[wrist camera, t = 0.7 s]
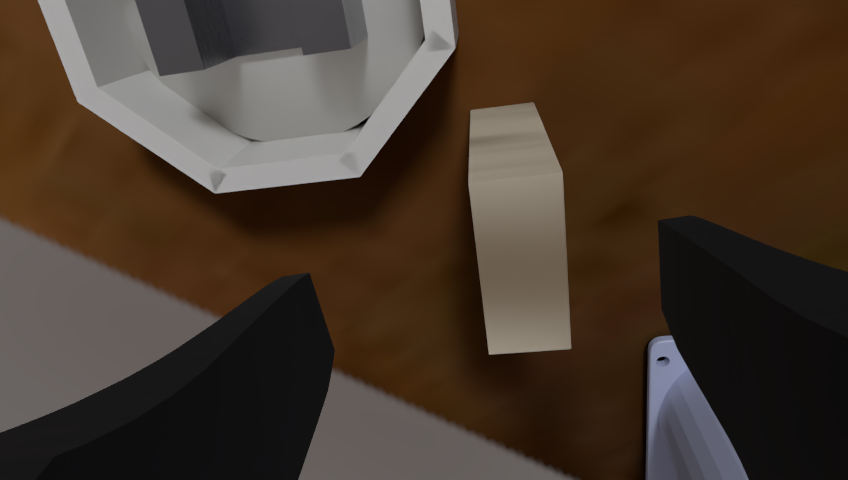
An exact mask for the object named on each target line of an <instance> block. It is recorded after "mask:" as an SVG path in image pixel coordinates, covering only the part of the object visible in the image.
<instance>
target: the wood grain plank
mask: <svg viewBox="0 0 848 480" xmlns="http://www.w3.org/2000/svg"><path fill="white" fill-rule="evenodd" d="M468 185H469V193H470V201H471V210H472V218H473V226H474V235H475V243H476V251H477V259H478V268H479V276H480V284H481V293H482V301H483V309H484V318H485V326H486V334H487V342H488V351H489V355H492V354H506V353H520V352H534V351H548V350H562V349H571V334H570V314H569V293H568V273H567V253H566V232H565V212H564V191H563V172H562V170H561V167H560V165H559V162H558V160H557V158H556V155H555V153H554V150H553V148H552V145H551V143H550V141H549V138H548V136H547V133H546V131H545V129H544V126H543V124H542V121H541V119H540V116H539V114H538V112H537V109H536V107H535V104H534V102H532V103H524V104H516V105H508V106H501V107H493V108H485V109H477V110H471V112H470V143H469V175H468Z"/></svg>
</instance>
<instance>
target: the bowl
mask: <svg viewBox="0 0 848 480" xmlns="http://www.w3.org/2000/svg"><path fill="white" fill-rule="evenodd" d="M38 2H39V4H40V7H41V10H42V12H43V15H44V17H45V20H46V22H47V25H48V27H49V30H50V33H51V35H52V38H53V40H54V43H55V45H56V48H57V50H58V53H59V55H60V58H61V61H62V63H63V66H64V68H65V71H66V73H67V76H68V78H69V81H70V84H71V86H72V89H73V91H74V94H75V96H76V99H77V101H78V102H79V103H80V104H82V105H83V106H85V107H86V108H88V109H89V110H91V111H92V112H94V113H95V114H97V115H98V116H99V117H101V118H102V119H104V120H105V121H107V122H108V123H110V124H111V125H113V126H114V127H116V128H117V129H119V130H120V131H122V132H123V133H125V134H126V135H128V136H129V137H131V138H132V139H134V140H135V141H137V142H138V143H140V144H141V145H143V146H144V147H146V148H147V149H149V150H150V151H152V152H153V153H155V154H156V155H158V156H159V157H161V158H162V159H164V160H165V161H167V162H168V163H170V164H171V165H173V166H174V167H176V168H177V169H179V170H180V171H182V172H183V173H185V174H186V175H188V176H189V177H191V178H192V179H194V180H195V181H197V182H198V183H200V184H201V185H203V186H204V187H206V188H207V189H209V190H210V191H212V192H213V193H215V194H216V193H225V192H234V191H243V190H251V189H260V188H269V187H277V186H286V185H295V184H304V183H312V182H321V181H330V180H339V179H347V178H356V177H360V176H361V175H362V174H363V172H364V171H365V170H366V168H367V167H368V166H369V164H370V163H371V162H372V160H373V159H374V158H375V156H376V155H377V154H378V152H379V151H380V150H381V148H382V147H383V145H384V144H385V143H386V141H387V140H388V139H389V137H390V136H391V135H392V133H393V132H394V131H395V129H396V128H397V127H398V125H399V124H400V123H401V121H402V120H403V118H404V117H405V116H406V114H407V113H408V112H409V110H410V109H411V108H412V106H413V105H414V104H415V102H416V101H417V100H418V98H419V97H420V96H421V94H422V93H423V92H424V90H425V89H426V87H427V86H428V85H429V83H430V82H431V81H432V79H433V78H434V77H435V75H436V74H437V73H438V71H439V70H440V69H441V67H442V66H443V65H444V63H445V62H446V61H447V59H448V58H449V56H450V55H451V54H452V52H453V51H454V50H455V48H456V44H457V40H458V35H459V31H458V22H457V13H456V4H455V0H362V5H363V10H364V16H365V22H366V27H367V33H368V37H367V38H365V39H364V40H363V41H361V42H360V43H358V44H357V45H355V46H354V47H353V48H351V49H345V50H338V51H331V52H324V53H317V54H310V55H304V56H303V52H302V48H301V47H300V48H293V49H287V50H280V51H273V52H266V53H259V54H253V55H246V56H239V57H235V58H233V59H230V60H228V61H225V62H223V63H220V64H218V65H215V66H213V67H210V68H208V69H205V70H200V71H193V72H186V73H179V74H173V75H166V76H159V73H158V70H157V66H156V63H155V60H154V57H153V54H152V51H151V48H150V45H149V42H148V39H147V36H146V33H145V30H144V27H143V24H142V21H141V18H140V15H139V11H138V8H137V5H136V2H135V0H38ZM424 36H425V40H424V42H423V39H424ZM422 42H423V43H422ZM369 116H370V117H369ZM368 117H369V119H368V120H367V122H366V123H365V124H361V125H358V124H359V123H360V122H362V121H363V120H365V119H366V118H368Z"/></svg>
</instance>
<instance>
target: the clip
mask: <svg viewBox="0 0 848 480" xmlns="http://www.w3.org/2000/svg"><path fill="white" fill-rule="evenodd" d="M135 2H136V5H137V8H138V11H139V15H140V18H141V21H142V24H143V27H144V30H145V33H146V36H147V39H148V42H149V45H150V48H151V51H152V54H153V57H154V60H155V63H156V66H157V70H158V73H159V76H166V75H173V74H179V73H186V72H193V71H200V70H205V69H208V68H210V67H213V66H215V65H218V64H220V63H223V62H225V61H228V60H230V59H233V58H235V57H239V56H246V55H253V54H259V53H266V52H273V51H280V50H287V49H293V48H300V47H301V48H302V52H303V56H304V55H310V54H317V53H324V52H331V51H338V50H345V49H351V48H353V47H354V46H355V45H357V44H358V43H360V42H361V41H363V40H364V39H365V38H367V37H368V33H367V27H366V22H365V16H364V10H363V5H362V0H135Z"/></svg>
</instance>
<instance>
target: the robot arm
mask: <svg viewBox="0 0 848 480" xmlns="http://www.w3.org/2000/svg"><path fill="white" fill-rule="evenodd" d="M658 232H659V256H660V281H661V305H662V311H663V314H664V316H665V319H666V322H667V324H668V327H669V330H670V332H671V335H672V336H660V337H656V338H654V339H653V340H651V342H650V343H649V345H648V371H647V429H646V480H848V272H846V271H842V270H839V269H836V268H832V267H829V266H826V265H822V264H819V263H816V262H813V261H811V260H808V259H805V258H802V257H799V256H796V255H793V254H790V253H787V252H785V251H782V250H779V249H776V248H774V247H771V246H769V245H766V244H763V243H761V242H758V241H756V240H753V239H751V238H749V237H746V236H744V235H741V234H739V233H736V232H734V231H732V230H729V229H727V228H724V227H722V226H719V225H717V224H714V223H712V222H709V221H707V220H704V219H701V218H698V217H695V216H684V217H677V218H671V219H664V220H658ZM334 352H335V350H334V347H333V344H332V341H331V338H330V335H329V332H328V329H327V326H326V323H325V319H324V316H323V313H322V310H321V307H320V304H319V301H318V298H317V295H316V292H315V289H314V286H313V283H312V280H311V277H310V274H309V273H304V274H298V275H291V276H284V277H281V278H279V279H277V280H275V281H274V282H272V283H270V284H269V285H267V286H266V287H264V288H263V289H261V290H260V291H258V292H257V293H256V294H254V295H253V296H251V297H250V298H249V299H247V300H246V301H244V302H243V303H242V304H240V305H239V306H238V307H236V308H235V309H233V310H232V311H231V312H229V313H228V314H227V315H225V316H224V317H222V318H221V319H220V320H218V321H217V322H215V323H214V324H213V325H211V326H210V327H208V328H207V329H205V330H204V331H202V332H201V333H199V334H198V335H196V336H195V337H193V338H192V339H190V340H189V341H187V342H186V343H185V344H183V345H182V346H180V347H179V348H177V349H175V350H174V351H172V352H171V353H169V354H167V355H166V356H164V357H163V358H161V359H159V360H157V361H156V362H154V363H152V364H151V365H149V366H147V367H145V368H143V369H142V370H140V371H138V372H136V373H134V374H133V375H131V376H129V377H127V378H125V379H124V380H121V381H119V382H117V383H115V384H113V385H111V386H109V387H107V388H105V389H103V390H101V391H99V392H97V393H94V394H92V395H90V396H88V397H86V398H84V399H82V400H80V401H78V402H76V403H74V404H71V405H69V406H67V407H64V408H62V409H60V410H57V411H55V412H53V413H50V414H48V415H45V416H43V417H41V418H38V419H35V420H33V421H30V422H28V423H25V424H22V425H20V426H18V427H15V428H12V429H9V430H7V431H4V432H1V433H0V480H298V478H299V475H300V473H301V470H302V467H303V464H304V461H305V458H306V455H307V452H308V449H309V446H310V443H311V440H312V437H313V434H314V431H315V428H316V425H317V422H318V419H319V416H320V413H321V410H322V407H323V404H324V401H325V398H326V395H327V392H328V387H329V382H330V377H331V371H332V365H333V358H334ZM662 356H664V357H666V358H665V359H664V360H662V361H657V359H658V358H659V357H662Z"/></svg>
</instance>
